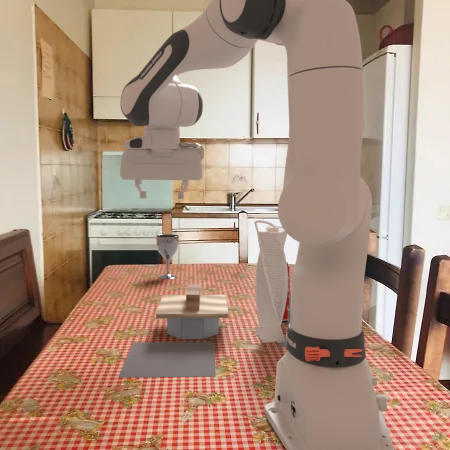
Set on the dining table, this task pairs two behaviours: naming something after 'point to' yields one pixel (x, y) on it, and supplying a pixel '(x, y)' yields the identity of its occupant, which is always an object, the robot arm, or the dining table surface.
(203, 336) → the bowl
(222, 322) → the dining table surface
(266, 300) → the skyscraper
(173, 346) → the rubber mat
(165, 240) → the wine glass
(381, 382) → the dining table surface
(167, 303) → the cover board
